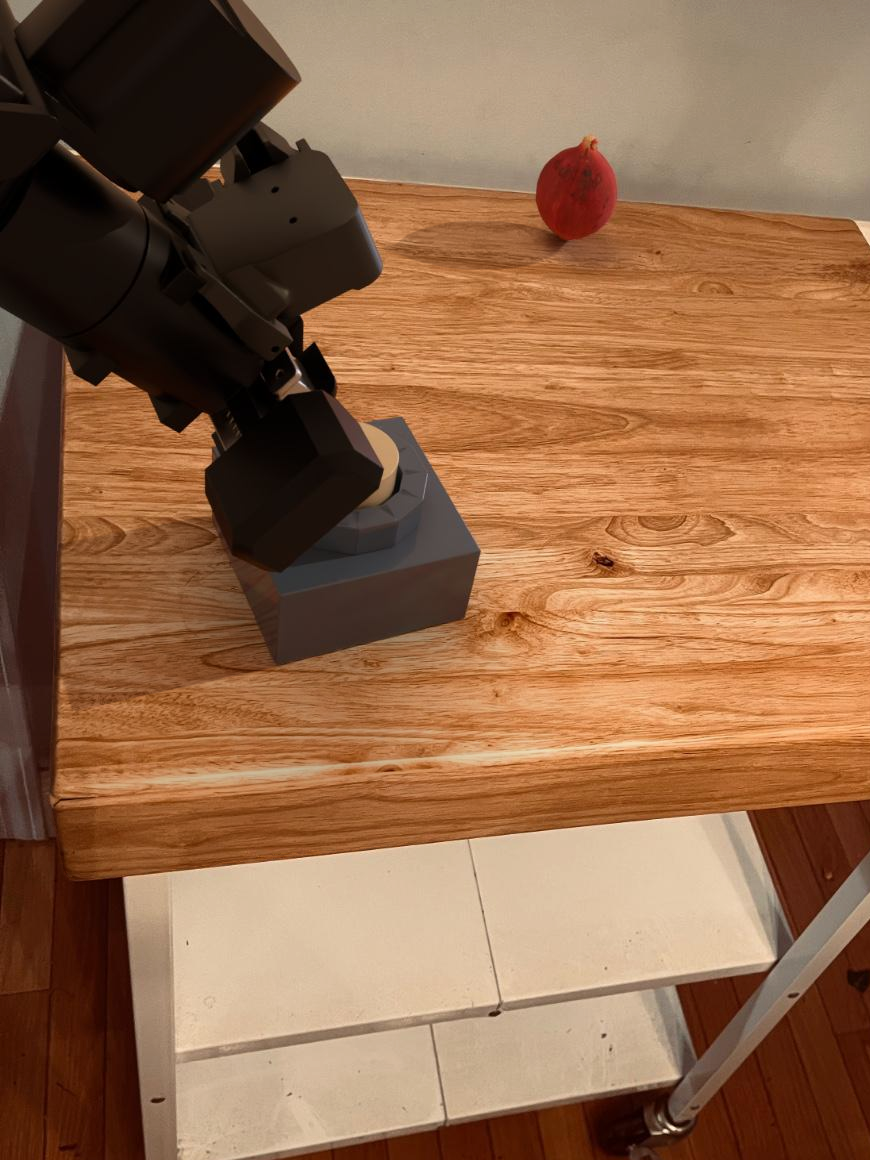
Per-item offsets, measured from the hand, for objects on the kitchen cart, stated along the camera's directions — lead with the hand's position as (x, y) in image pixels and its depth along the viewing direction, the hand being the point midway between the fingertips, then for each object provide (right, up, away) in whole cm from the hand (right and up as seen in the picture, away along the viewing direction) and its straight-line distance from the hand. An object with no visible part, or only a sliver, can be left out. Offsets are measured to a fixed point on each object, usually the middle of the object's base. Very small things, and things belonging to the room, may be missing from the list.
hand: (358, 444), depth 55 cm
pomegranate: (+9, +19, +32) cm, 38 cm away
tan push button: (-1, -2, +2) cm, 2 cm away
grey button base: (-2, -6, +6) cm, 9 cm away
